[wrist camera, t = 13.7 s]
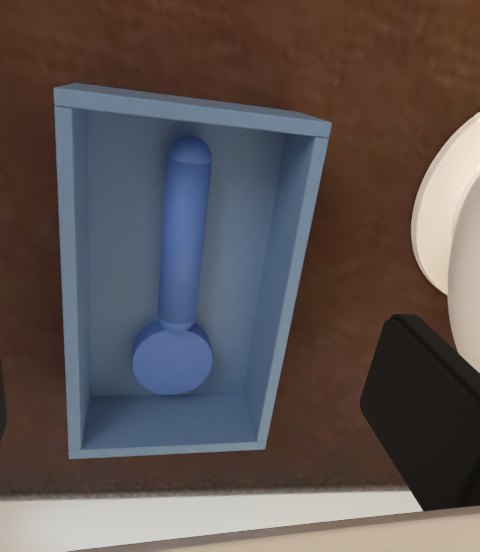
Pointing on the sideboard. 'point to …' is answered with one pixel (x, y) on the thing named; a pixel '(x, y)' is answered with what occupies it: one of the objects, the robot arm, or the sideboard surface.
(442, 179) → the decorative vase
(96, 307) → the blue bin
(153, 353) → the blue spoon
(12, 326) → the sideboard surface
